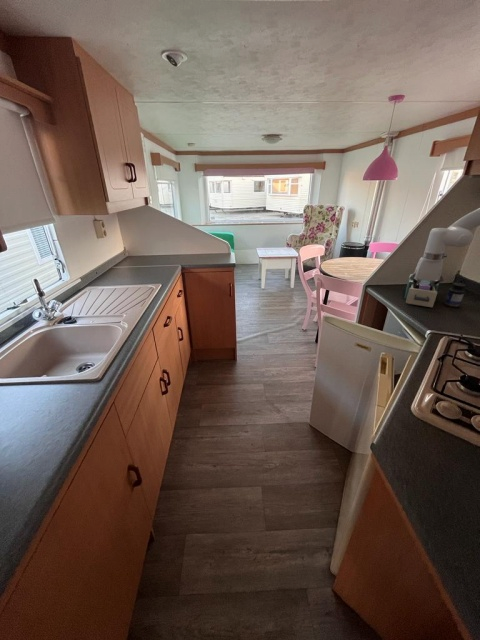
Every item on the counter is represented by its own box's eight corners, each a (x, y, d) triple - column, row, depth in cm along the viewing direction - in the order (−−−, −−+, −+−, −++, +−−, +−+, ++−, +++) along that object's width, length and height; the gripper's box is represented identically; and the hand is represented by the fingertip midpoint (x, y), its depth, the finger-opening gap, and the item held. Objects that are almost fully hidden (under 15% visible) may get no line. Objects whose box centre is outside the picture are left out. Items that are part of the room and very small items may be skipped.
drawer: (432, 311, 124) (438, 295, 121) (405, 306, 130) (409, 291, 126) (431, 297, 138) (436, 283, 135) (406, 294, 144) (410, 280, 140)
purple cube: (425, 292, 133) (428, 283, 131) (427, 295, 129) (430, 286, 127) (415, 291, 134) (418, 282, 132) (417, 294, 131) (420, 285, 129)
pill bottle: (443, 302, 135) (450, 281, 130) (458, 304, 133) (466, 283, 127) (444, 306, 131) (452, 285, 126) (459, 308, 128) (468, 287, 123)
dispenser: (432, 303, 135) (438, 285, 130) (404, 298, 140) (409, 281, 136) (432, 293, 146) (437, 276, 141) (405, 289, 152) (410, 273, 147)
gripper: (452, 255, 124) (439, 292, 132) (410, 253, 129) (401, 288, 138) (457, 259, 117) (444, 297, 126) (413, 257, 123) (403, 293, 131)
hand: (421, 292), depth 132 cm, fingers closed on purple cube, 4 cm apart
